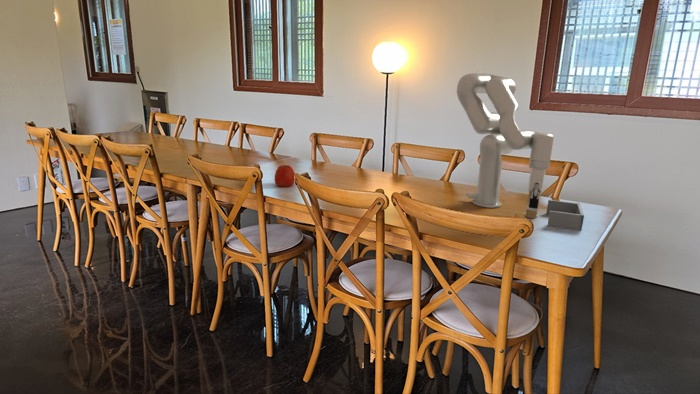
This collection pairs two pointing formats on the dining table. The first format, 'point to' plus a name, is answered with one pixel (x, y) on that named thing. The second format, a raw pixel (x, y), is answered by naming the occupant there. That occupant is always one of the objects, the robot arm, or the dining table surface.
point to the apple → (284, 176)
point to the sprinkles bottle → (531, 211)
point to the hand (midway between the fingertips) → (533, 204)
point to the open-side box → (565, 215)
